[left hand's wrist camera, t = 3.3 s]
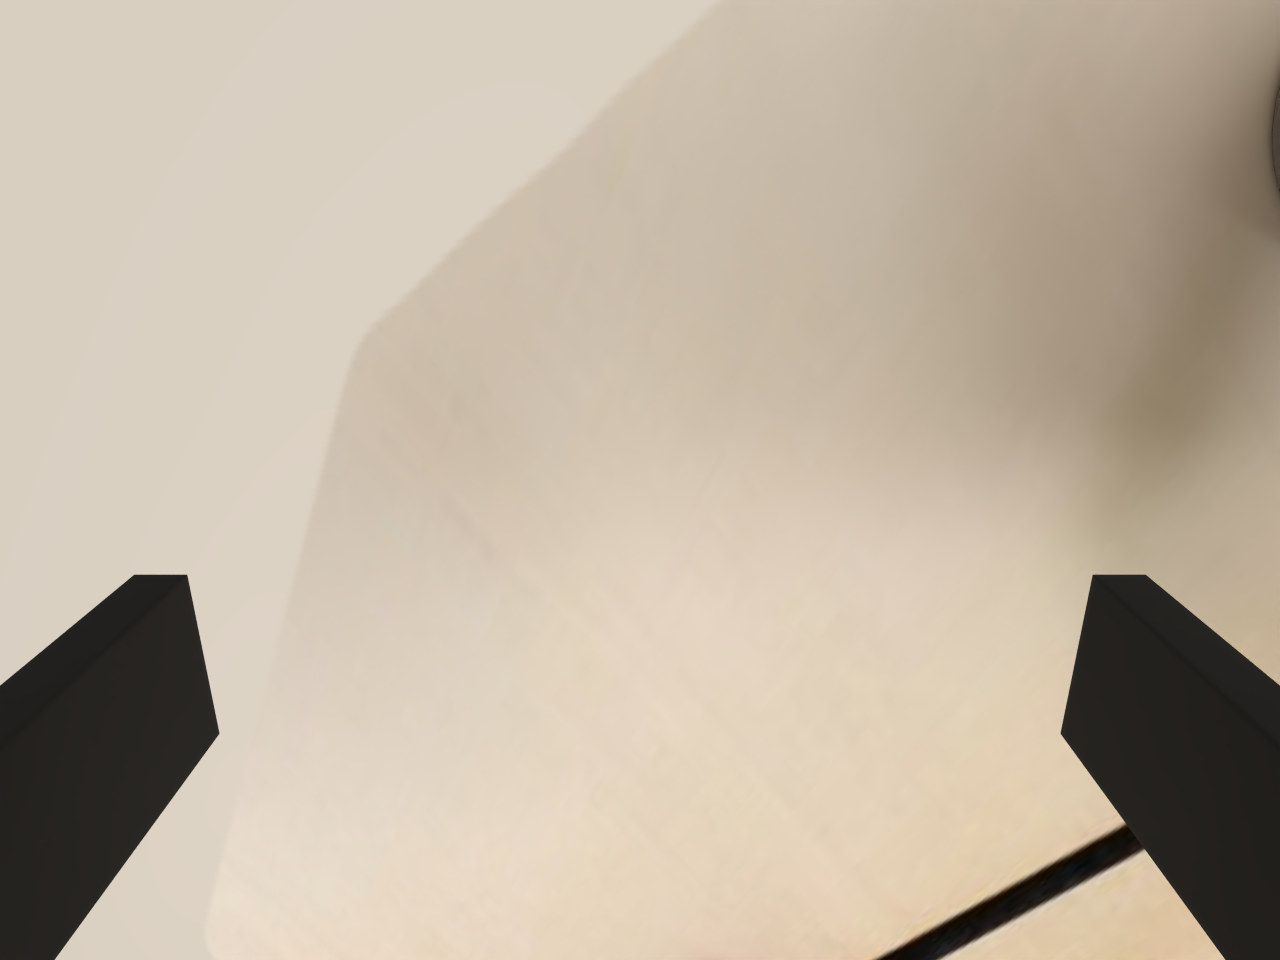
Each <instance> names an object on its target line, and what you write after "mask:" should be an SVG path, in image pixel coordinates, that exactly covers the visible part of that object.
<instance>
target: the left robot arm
mask: <svg viewBox="0 0 1280 960" xmlns="http://www.w3.org/2000/svg"><path fill="white" fill-rule="evenodd" d="M1272 146H1273V161H1274V169H1275V174H1276V178H1277V183H1278V187H1279V190H1280V88H1279V92H1278V96H1277V101H1276V107H1275V113H1274V120H1273V133H1272ZM218 735H219V729H218V724H217V719H216V714H215V709H214V705H213V700H212V695H211V690H210V685H209V680H208V675H207V670H206V665H205V660H204V655H203V650H202V645H201V640H200V636H199V631H198V626H197V621H196V616H195V611H194V606H193V601H192V596H191V591H190V586H189V581H188V576H187V575H133V576H132V577H131V578H130V579H129V580H127V581H126V582H125V583H124V584H123V585H121V586H120V587H119V588H118V589H117V590H115V591H114V592H113V593H112V594H110V595H109V596H108V597H107V598H106V599H104V600H103V601H102V602H101V603H100V604H98V605H97V606H96V607H95V608H94V609H92V610H91V611H90V612H89V613H87V614H86V615H85V616H84V617H83V618H82V619H80V620H79V621H78V622H77V623H75V624H74V625H73V626H72V627H71V628H69V629H68V630H67V631H66V632H65V633H63V634H62V635H61V636H60V637H58V638H57V639H56V640H55V641H54V642H52V643H51V644H50V645H49V646H48V647H46V648H45V649H44V650H43V651H42V652H40V653H39V654H38V655H37V656H35V657H34V658H33V659H32V660H31V661H29V662H28V663H27V664H26V665H25V666H23V667H22V668H21V669H20V670H19V671H17V672H16V673H15V674H14V675H13V676H11V677H10V678H9V679H8V680H6V681H5V682H4V683H3V684H2V685H0V960H55V958H56V957H57V956H58V954H59V953H60V952H61V950H62V949H63V947H64V946H65V945H66V943H67V942H68V941H69V939H70V938H71V936H72V935H73V934H74V932H75V931H76V930H77V928H78V927H79V925H80V924H81V923H82V921H83V920H84V919H85V917H86V916H87V914H88V913H89V912H90V910H91V909H92V908H93V906H94V905H95V903H96V902H97V901H98V899H99V898H100V897H101V895H102V894H103V893H104V891H105V890H106V888H107V887H108V886H109V884H110V883H111V882H112V880H113V879H114V877H115V876H116V875H117V873H118V872H119V871H120V869H121V868H122V867H123V865H124V864H125V862H126V861H127V860H128V858H129V857H130V856H131V854H132V853H133V851H134V850H135V849H136V847H137V846H138V845H139V843H140V842H141V840H142V839H143V838H144V836H145V835H146V834H147V832H148V831H149V829H150V828H151V827H152V825H153V824H154V823H155V821H156V820H157V819H158V817H159V816H160V814H161V813H162V812H163V810H164V809H165V808H166V806H167V805H168V803H169V802H170V801H171V799H172V798H173V796H174V795H175V794H176V792H177V791H178V790H179V788H180V787H181V786H182V784H183V783H184V781H185V780H186V779H187V777H188V776H189V775H190V773H191V772H192V771H193V769H194V768H195V766H196V765H197V764H198V762H199V761H200V759H201V758H202V757H203V755H204V754H205V753H206V751H207V750H208V749H209V747H210V746H211V744H212V743H213V742H214V740H215V739H216V738H217V736H218ZM1061 735H1062V736H1063V738H1064V739H1065V740H1066V742H1067V743H1068V744H1069V746H1070V747H1071V749H1072V750H1073V751H1074V753H1075V754H1076V755H1077V757H1078V758H1079V760H1080V761H1081V762H1082V764H1083V765H1084V766H1085V768H1086V769H1087V771H1088V772H1089V773H1090V775H1091V776H1092V777H1093V779H1094V780H1095V781H1096V783H1097V784H1098V786H1099V787H1100V788H1101V790H1102V791H1103V792H1104V794H1105V795H1106V797H1107V798H1108V799H1109V801H1110V802H1111V803H1112V805H1113V806H1114V808H1115V809H1116V810H1117V812H1118V813H1119V814H1120V816H1121V817H1122V819H1123V820H1124V821H1125V823H1126V824H1127V825H1128V827H1129V828H1130V829H1131V831H1132V832H1133V834H1134V835H1135V836H1136V838H1137V839H1138V840H1139V842H1140V843H1141V845H1142V846H1143V847H1144V849H1145V850H1146V851H1147V853H1148V854H1149V856H1150V857H1151V858H1152V860H1153V861H1154V862H1155V864H1156V865H1157V867H1158V868H1159V869H1160V871H1161V872H1162V873H1163V875H1164V876H1165V877H1166V879H1167V880H1168V882H1169V883H1170V884H1171V886H1172V887H1173V888H1174V890H1175V891H1176V893H1177V894H1178V895H1179V897H1180V898H1181V899H1182V901H1183V902H1184V904H1185V905H1186V906H1187V908H1188V909H1189V910H1190V912H1191V913H1192V915H1193V916H1194V917H1195V919H1196V920H1197V921H1198V923H1199V924H1200V925H1201V927H1202V928H1203V930H1204V931H1205V932H1206V934H1207V935H1208V936H1209V938H1210V939H1211V941H1212V942H1213V943H1214V945H1215V946H1216V947H1217V949H1218V950H1219V952H1220V953H1221V954H1222V956H1223V957H1224V958H1225V960H1280V685H1278V684H1277V683H1276V682H1275V681H1274V680H1272V679H1271V678H1270V677H1269V676H1267V675H1266V674H1265V673H1264V672H1263V671H1261V670H1260V669H1259V668H1258V667H1257V666H1255V665H1254V664H1253V663H1252V662H1251V661H1249V660H1248V659H1247V658H1246V657H1245V656H1243V655H1242V654H1241V653H1240V652H1238V651H1237V650H1236V649H1235V648H1234V647H1232V646H1231V645H1230V644H1229V643H1228V642H1226V641H1225V640H1224V639H1223V638H1222V637H1220V636H1219V635H1218V634H1217V633H1215V632H1214V631H1213V630H1212V629H1211V628H1209V627H1208V626H1207V625H1206V624H1205V623H1203V622H1202V621H1201V620H1200V619H1199V618H1197V617H1196V616H1195V615H1194V614H1193V613H1191V612H1190V611H1189V610H1188V609H1186V608H1185V607H1184V606H1183V605H1182V604H1180V603H1179V602H1178V601H1177V600H1176V599H1174V598H1173V597H1172V596H1171V595H1170V594H1168V593H1167V592H1166V591H1165V590H1163V589H1162V588H1161V587H1160V586H1159V585H1157V584H1156V583H1155V582H1154V581H1153V580H1151V579H1150V578H1149V577H1148V576H1147V575H1093V576H1092V581H1091V586H1090V591H1089V596H1088V601H1087V606H1086V611H1085V616H1084V621H1083V626H1082V631H1081V636H1080V640H1079V645H1078V650H1077V655H1076V660H1075V665H1074V670H1073V675H1072V680H1071V685H1070V690H1069V695H1068V700H1067V705H1066V709H1065V714H1064V719H1063V724H1062V729H1061Z"/></svg>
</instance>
